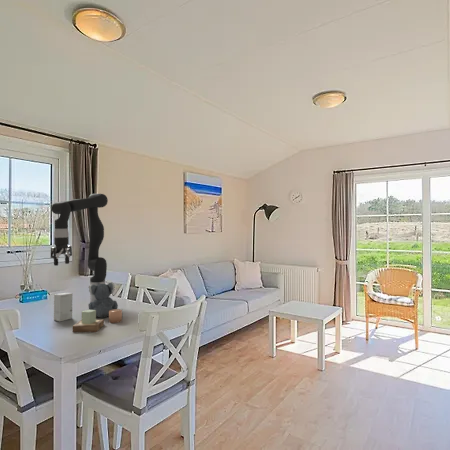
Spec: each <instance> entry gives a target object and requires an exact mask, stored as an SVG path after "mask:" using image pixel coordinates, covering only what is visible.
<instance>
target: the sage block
mask: <svg viewBox="0 0 450 450" xmlns="http://www.w3.org/2000/svg"><path fill="white" fill-rule="evenodd" d="M81 320H82V323H85V324H91V323H93V322H96V320H97V316H96V310H89V308H88V309H86V310H82V311H81Z"/></svg>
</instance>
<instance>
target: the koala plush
mask: <svg viewBox="0 0 450 450" xmlns="http://www.w3.org/2000/svg"><path fill="white" fill-rule="evenodd" d="M88 292H89V295H90V294H92V295H94V296H95V298H96V299H97V300H94V301H93V302H90V301H89V303H88V309H89V310H96V318H101V319H102V318H106V317H109V311H110V310H113V309H119V308H118V307H119V305H118V302H117V300H113V298H111V297H110V296H111V295H112V294H113V293H114V292H115V283H114V282H112V281H111V282H108V283H107V284H106V283H105V284H99V285H98V286H96V285H94V284H93V285H90V284H89V285H88Z"/></svg>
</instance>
